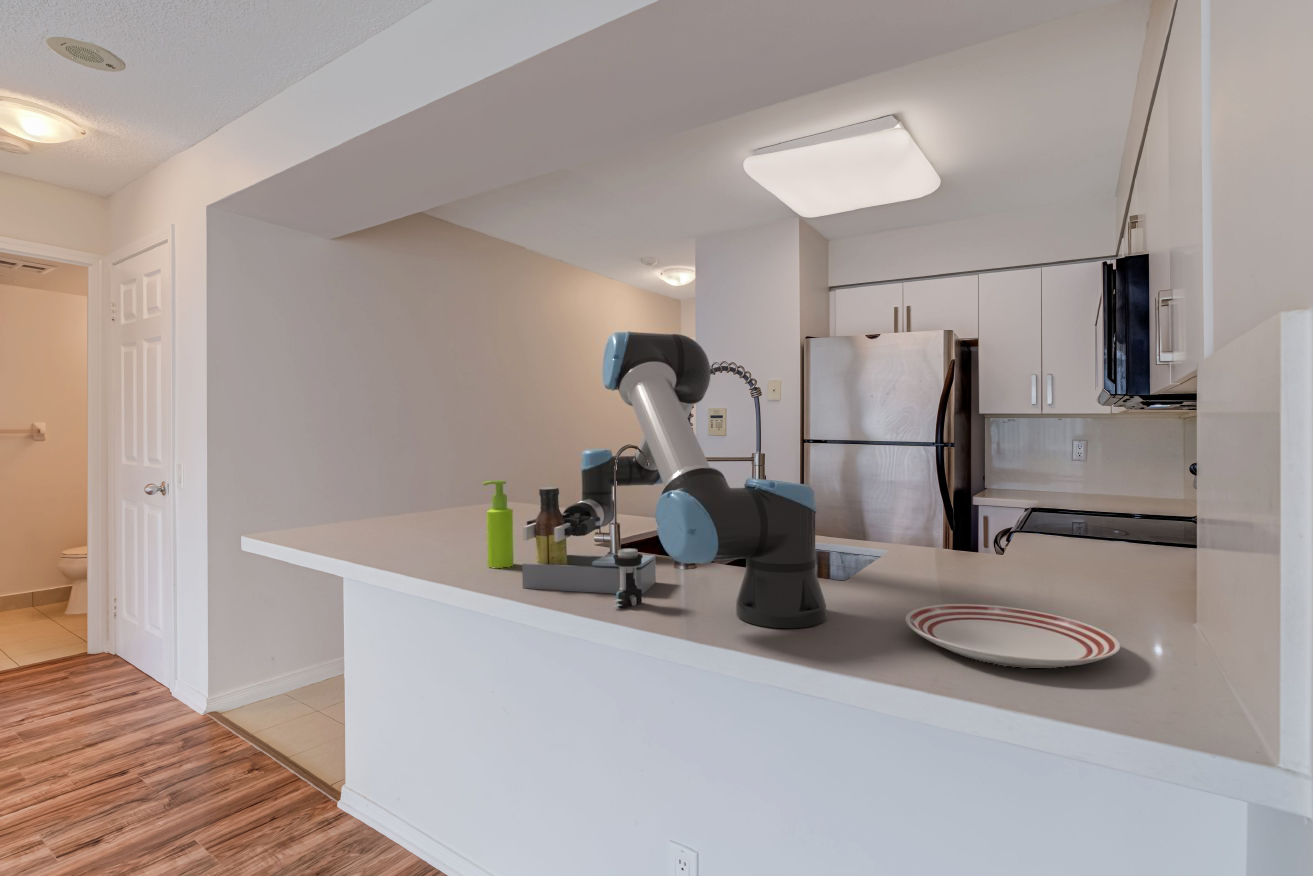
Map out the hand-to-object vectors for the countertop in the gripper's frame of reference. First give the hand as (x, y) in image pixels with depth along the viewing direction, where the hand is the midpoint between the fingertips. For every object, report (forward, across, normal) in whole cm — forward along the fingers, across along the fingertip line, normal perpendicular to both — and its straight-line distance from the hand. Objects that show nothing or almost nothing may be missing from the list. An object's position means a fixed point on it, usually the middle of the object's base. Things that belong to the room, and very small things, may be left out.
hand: (540, 534), depth 132 cm
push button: (+8, -20, -11) cm, 24 cm away
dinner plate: (+16, -81, -12) cm, 83 cm away
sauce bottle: (-5, 0, -11) cm, 12 cm away
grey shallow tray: (-5, -8, -11) cm, 15 cm away
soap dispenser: (-17, +19, -11) cm, 28 cm away
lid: (-5, -16, -6) cm, 18 cm away
